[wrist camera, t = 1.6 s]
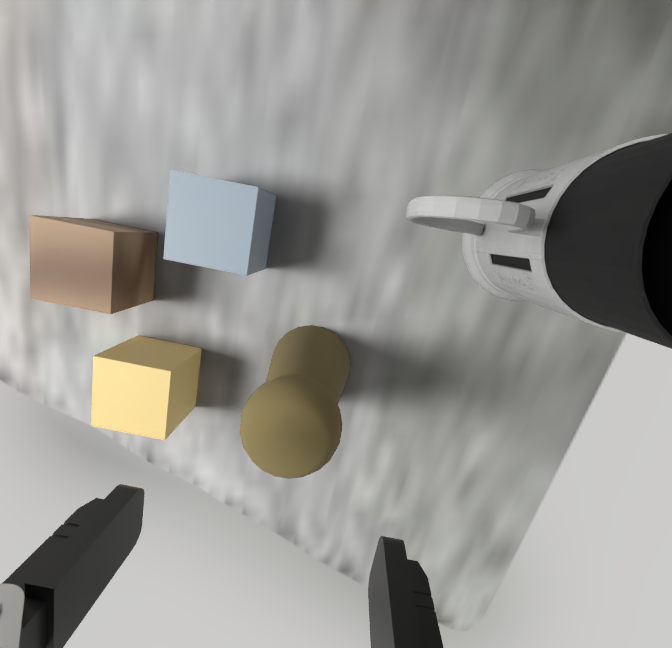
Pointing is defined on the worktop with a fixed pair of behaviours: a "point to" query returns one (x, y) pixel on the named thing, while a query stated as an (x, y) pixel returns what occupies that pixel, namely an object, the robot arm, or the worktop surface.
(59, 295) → the walnut block
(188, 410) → the mustard block
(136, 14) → the worktop surface
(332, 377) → the cork
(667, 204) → the glass holder
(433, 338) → the worktop surface
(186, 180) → the slate block
